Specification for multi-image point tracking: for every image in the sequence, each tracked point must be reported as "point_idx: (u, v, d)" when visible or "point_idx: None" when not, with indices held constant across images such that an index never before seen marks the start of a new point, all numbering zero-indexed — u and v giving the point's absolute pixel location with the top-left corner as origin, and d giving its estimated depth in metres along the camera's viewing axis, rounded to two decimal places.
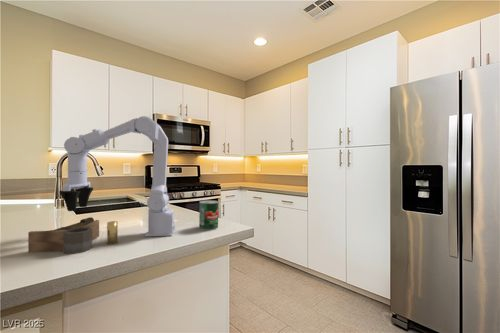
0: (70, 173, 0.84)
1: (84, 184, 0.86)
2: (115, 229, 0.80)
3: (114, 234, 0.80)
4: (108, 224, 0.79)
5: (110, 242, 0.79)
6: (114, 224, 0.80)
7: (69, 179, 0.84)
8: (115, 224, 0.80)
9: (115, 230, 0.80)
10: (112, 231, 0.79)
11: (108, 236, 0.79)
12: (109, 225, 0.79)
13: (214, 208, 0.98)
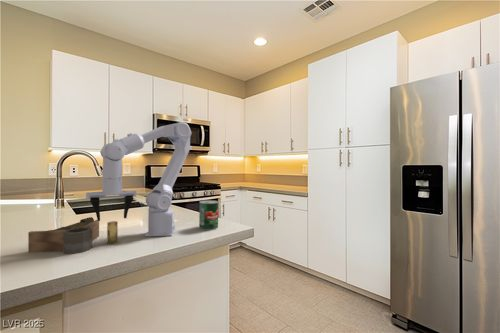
0: None
1: (108, 193, 0.77)
2: (115, 229, 0.80)
3: (114, 234, 0.80)
4: (108, 224, 0.79)
5: (110, 242, 0.79)
6: (114, 224, 0.80)
7: None
8: (115, 224, 0.80)
9: (115, 230, 0.80)
10: (112, 231, 0.79)
11: (108, 236, 0.79)
12: (109, 225, 0.79)
13: (214, 208, 0.98)
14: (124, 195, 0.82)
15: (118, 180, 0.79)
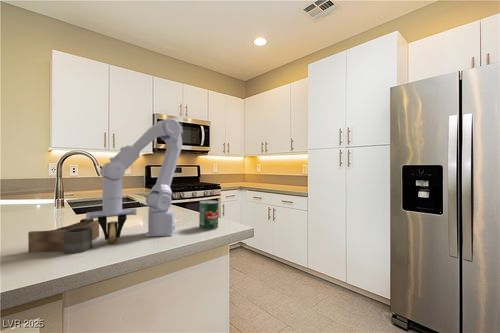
0: None
1: (108, 213, 0.78)
2: (115, 229, 0.80)
3: (114, 234, 0.80)
4: (108, 224, 0.79)
5: (110, 242, 0.79)
6: (114, 224, 0.80)
7: None
8: (115, 224, 0.80)
9: (115, 230, 0.80)
10: (112, 231, 0.79)
11: (108, 236, 0.79)
12: (109, 225, 0.79)
13: (214, 208, 0.98)
14: (124, 214, 0.82)
15: (118, 199, 0.79)
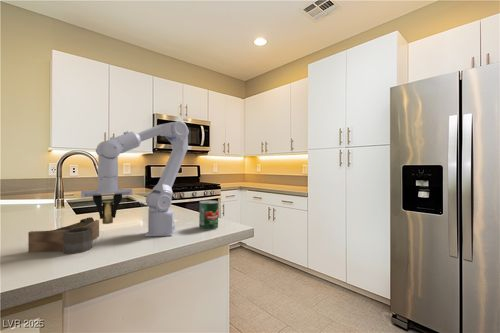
0: None
1: (104, 192, 0.77)
2: (110, 209, 0.79)
3: (109, 214, 0.79)
4: (103, 203, 0.78)
5: (105, 222, 0.78)
6: (109, 203, 0.79)
7: None
8: (110, 203, 0.79)
9: (110, 210, 0.79)
10: (107, 210, 0.78)
11: (103, 215, 0.78)
12: (104, 205, 0.78)
13: (214, 208, 0.98)
14: (120, 193, 0.81)
15: (114, 178, 0.78)
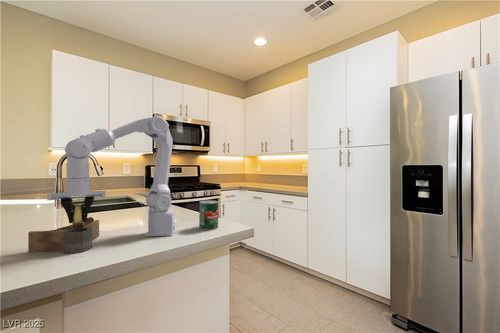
0: None
1: (72, 194, 0.71)
2: (81, 212, 0.74)
3: (79, 217, 0.73)
4: (73, 206, 0.73)
5: (75, 226, 0.73)
6: (79, 206, 0.73)
7: None
8: (81, 207, 0.74)
9: (81, 213, 0.74)
10: (77, 214, 0.73)
11: (73, 219, 0.73)
12: (74, 208, 0.73)
13: (214, 208, 0.98)
14: (91, 196, 0.76)
15: (84, 179, 0.73)
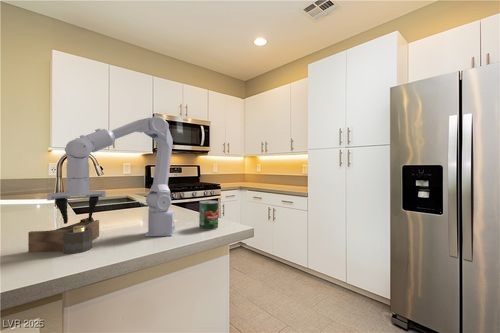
0: None
1: (72, 194, 0.71)
2: None
3: None
4: (74, 229, 0.73)
5: None
6: (81, 229, 0.73)
7: None
8: (82, 229, 0.74)
9: None
10: None
11: None
12: (75, 230, 0.73)
13: (214, 208, 0.98)
14: (91, 196, 0.76)
15: (84, 179, 0.73)
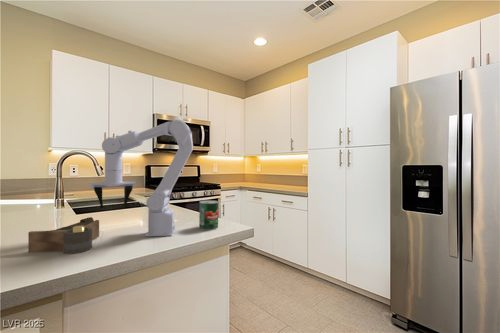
0: None
1: (110, 183, 0.87)
2: None
3: None
4: (74, 229, 0.73)
5: None
6: (80, 229, 0.73)
7: None
8: (82, 229, 0.74)
9: None
10: None
11: None
12: (74, 230, 0.73)
13: (214, 208, 0.98)
14: (124, 185, 0.91)
15: (119, 172, 0.89)
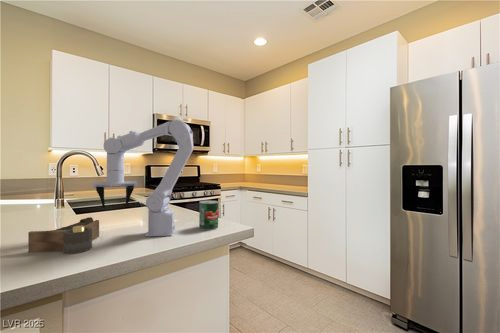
0: None
1: (112, 183, 0.88)
2: None
3: None
4: (74, 229, 0.73)
5: None
6: (80, 229, 0.74)
7: None
8: (82, 229, 0.74)
9: None
10: None
11: None
12: (75, 230, 0.73)
13: (214, 208, 0.98)
14: (126, 185, 0.92)
15: (120, 171, 0.90)
